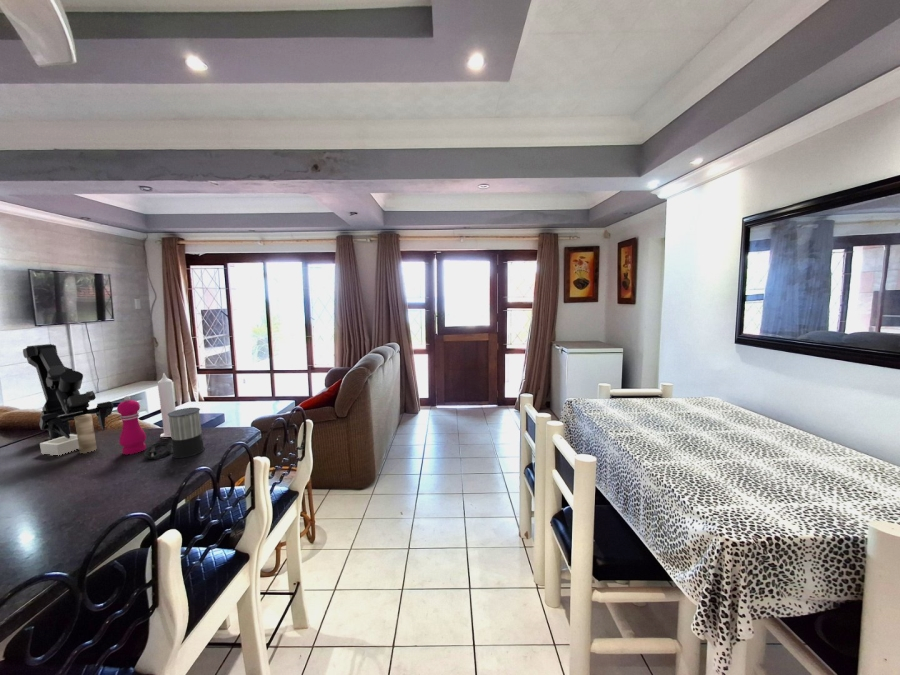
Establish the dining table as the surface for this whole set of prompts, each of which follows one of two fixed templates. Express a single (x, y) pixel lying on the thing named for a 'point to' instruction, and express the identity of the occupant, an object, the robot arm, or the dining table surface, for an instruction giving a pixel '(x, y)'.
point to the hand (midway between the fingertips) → (87, 433)
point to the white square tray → (60, 445)
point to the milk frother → (181, 435)
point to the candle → (166, 403)
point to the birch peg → (85, 433)
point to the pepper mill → (131, 427)
